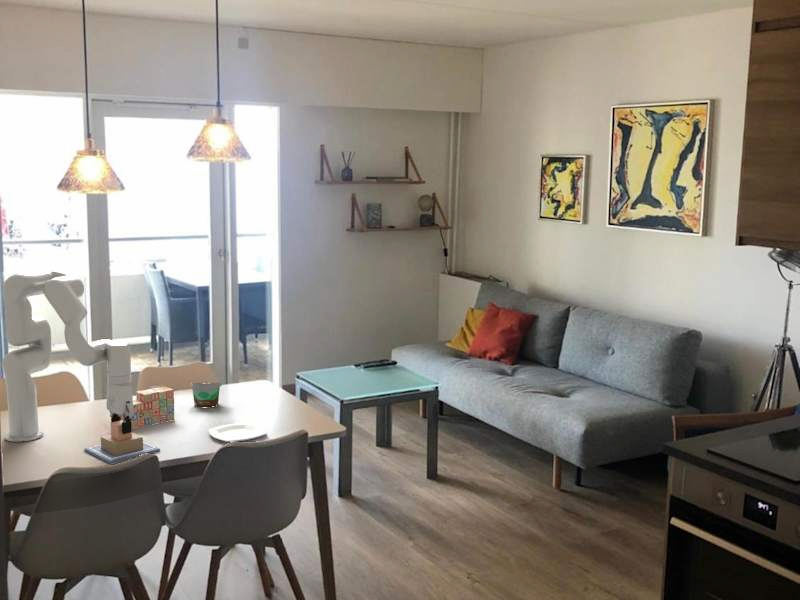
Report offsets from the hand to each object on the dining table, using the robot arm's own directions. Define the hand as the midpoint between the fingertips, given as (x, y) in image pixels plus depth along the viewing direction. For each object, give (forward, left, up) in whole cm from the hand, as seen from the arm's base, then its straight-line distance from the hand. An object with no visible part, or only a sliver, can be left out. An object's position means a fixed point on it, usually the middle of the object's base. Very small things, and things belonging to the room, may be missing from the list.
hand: (121, 430), depth 285 cm
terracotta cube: (0, 0, -2) cm, 2 cm away
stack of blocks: (-23, +22, -8) cm, 32 cm away
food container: (-26, +51, -8) cm, 58 cm away
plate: (+13, +38, -8) cm, 41 cm away
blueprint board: (0, 0, -7) cm, 7 cm away
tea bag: (-34, +34, -8) cm, 49 cm away
